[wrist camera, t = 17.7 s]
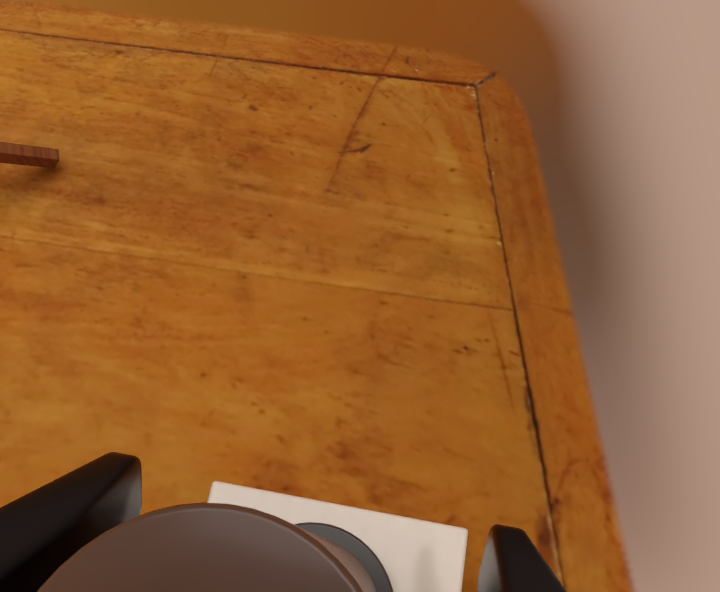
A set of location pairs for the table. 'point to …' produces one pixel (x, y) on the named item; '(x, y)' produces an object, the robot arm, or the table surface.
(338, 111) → the table surface
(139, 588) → the brown tall cylinder
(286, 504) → the white base block
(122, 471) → the robot arm
